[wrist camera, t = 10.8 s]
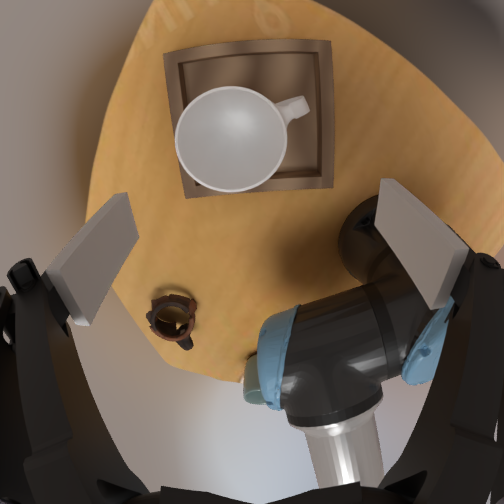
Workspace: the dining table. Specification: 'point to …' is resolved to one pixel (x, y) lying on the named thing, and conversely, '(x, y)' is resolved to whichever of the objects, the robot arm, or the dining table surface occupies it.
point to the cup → (252, 382)
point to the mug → (234, 137)
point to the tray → (273, 88)
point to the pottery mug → (169, 329)
